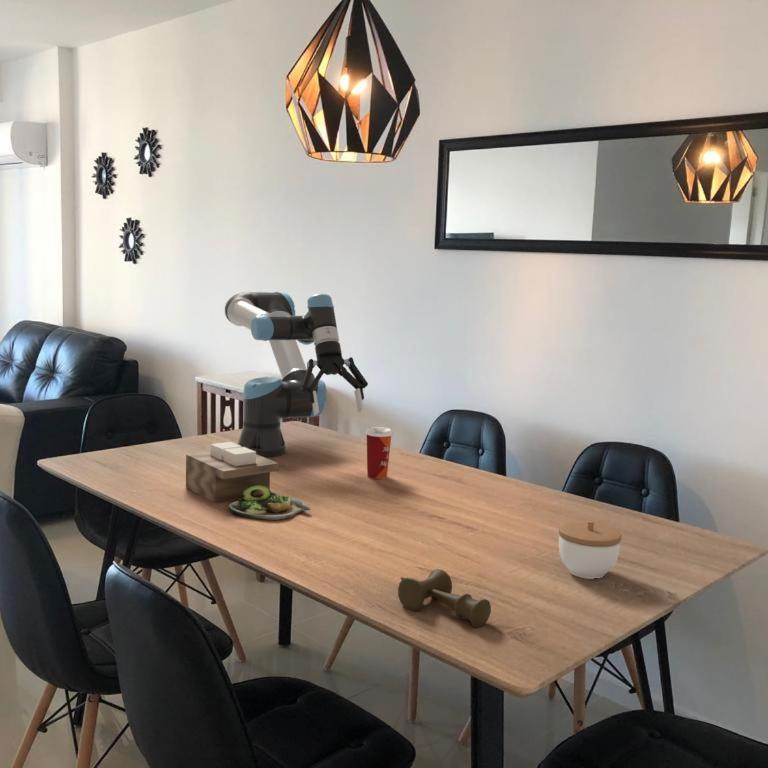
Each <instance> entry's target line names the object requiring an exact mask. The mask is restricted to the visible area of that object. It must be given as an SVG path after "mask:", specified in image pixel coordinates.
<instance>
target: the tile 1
mask: <svg viewBox="0 0 768 768" xmlns="http://www.w3.org/2000/svg"><path fill="white" fill-rule="evenodd" d="M240 447H242V446H240V445H238V443H235V442H233V441H225V442H218V443H217V442H216V443H210V450H209V451H210V455H211V456H213V457H215V458H218V459H220V460H224V450H225V449H232V448H240Z"/></svg>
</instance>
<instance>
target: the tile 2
mask: <svg viewBox="0 0 768 768" xmlns="http://www.w3.org/2000/svg"><path fill="white" fill-rule="evenodd" d="M224 461H225V462H227V463H229V464H232V465H234V466H239V465H246V464H253V463H256V452H255V451H253V450H250V449H248V448H245V447H240V448H232V449H225V450H224Z"/></svg>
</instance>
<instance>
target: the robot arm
mask: <svg viewBox="0 0 768 768" xmlns="http://www.w3.org/2000/svg"><path fill="white" fill-rule="evenodd" d="M332 299H333V298H332V296H330V295H329V294H326V293H316V294H313V295H311V296H309V298H308V299H307V300H306V301H307V308H308V309H307V310H308V311H307V312H306V314H305V315H296V309H295V308H296V307H295V302H294V299H293V298H292V297H291V295H289V294H288V293H286V292H279V291H274V292H271V291H269V292H268V291H267V292H265V291H264V292H263V291H260V292H259V291H242V292H238V293H236V294H234V295H233V296H231V297H230V298H229V299H228V300H227V301H226V303H225V306H224V315H225V317H226V319H227V321H229V322H230V323H231V324H233V325H235V326H237V327H245V328H246V329H248V330H250V333H251V335H252V337H253V339H254V341H255V340H256V341H263V342H266V341H269V345H270V348H271V350H272V353H273V355H274V359H275V361H276V365H277V367H278V370H279V373H280V376H281V377H278V376H263V377H257V378H252V379H250V380H247V381H246V382H245V384H244V386H243V395H242V399H243V401H242V402H243V409H242V414H243V415H242V417H243V418H242V429H241V433H240V436H239V437H238V441H237V444H238V445H240V446H242V447H245V448H248V449H250V450H253V451H255V452H256V454H257V455H259V456H262V457H264V458H271V457H277V456H282V455H283V454H285V453H286V442H285V439H284V436H283V431H282V428H281V420H282V419H291V418H292V419H293V418H294V419H295V418H296V419H297V418H312V417H319V416H321V415H323V413H324V411H325V409H326V408H325V407H326V404H327V395H328V394H327V393H328V392H327V391H328V390H327V385H326V383H325V381H324V380H321V378H322V377H323V375H326V376H330V375H333V376H335V375H336V376H337V374H338V375H339V376H341V377H342V378H343V379H344V380H345V381H346V382H348V383H349V384H350V386H352V387H353V388H354V389H355V391H354V396H355V397H354V398H355V403H356V408H357V412H358V413H361V412H362V411H363V410H364V405H363V400H365V395H364V389H365V388H366V387H368V385H369V382H368V381H367V380H366V378H365V377H364V376H363V374H362V373H361V372H360V370H359V368H358V367H357V366H356V364H355V362H354V361H355V360H354V358H353V356H352V357H351V356H350V357H349V358H346V359H345V358H343V354H342V348H341V343H340V338H339V331H338V327H337V320H336V315H335V308H334V307H335V306H334V304H333V300H332ZM298 343H300V344H303V345H306V346H308V345H311V344H313V345H314V349H315V356H316V360H314V359H313V358H310V359H308V361H307V362H306V363H305V361H304V359H303V356H302V355H303V354H302V353H301V350H300V348H299V345H298ZM344 365H345V366H346V367H347V368H348V370H349V371H350V372H351V373H350V372H349V371H348V370H347V368H346V367H345V366H344ZM316 366H317V368H318V369H319V372H317V375H316V376H315V374H314V373H313V370H314V368H315V367H316Z"/></svg>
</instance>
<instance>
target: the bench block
mask: <svg viewBox="0 0 768 768" xmlns="http://www.w3.org/2000/svg"><path fill="white" fill-rule="evenodd" d="M279 464H280V463H279V462H277V461H273V460H272V459H269V458H268V457H262V456H259V455H257V454H256V463H253V464H246V465H239V466H234V465H232V464H229V463H227V462H225V461H224V460H220V459H218V458H215V457H213V456H211V455H210V450H209V451H202V452H201V451H200V452H195V453H194V452H193V453H186V454H185V488H186V487H187V488H186V489H188V488H189V489H188V490H190V491H191V492H194V493H196V494H198V495H199V496H201V495H202V497H203V496H204V497H203V498H205V497H206V499H207V498H208V499H207V500H209V499H210V500H209V501H211V500H212V501H211V502H213V503H215V502H216V503H221V501H222V502H227V501H232V500H239V499H241V498H243V496H242V494H243V491H244V490H246V489H247V488H249V487H251V486H255V485H262V486H266V487H268V488H269V489H270V490H271V486H270V484H271V473H272V472H273V473H274V472H279V467H280V466H279Z"/></svg>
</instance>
